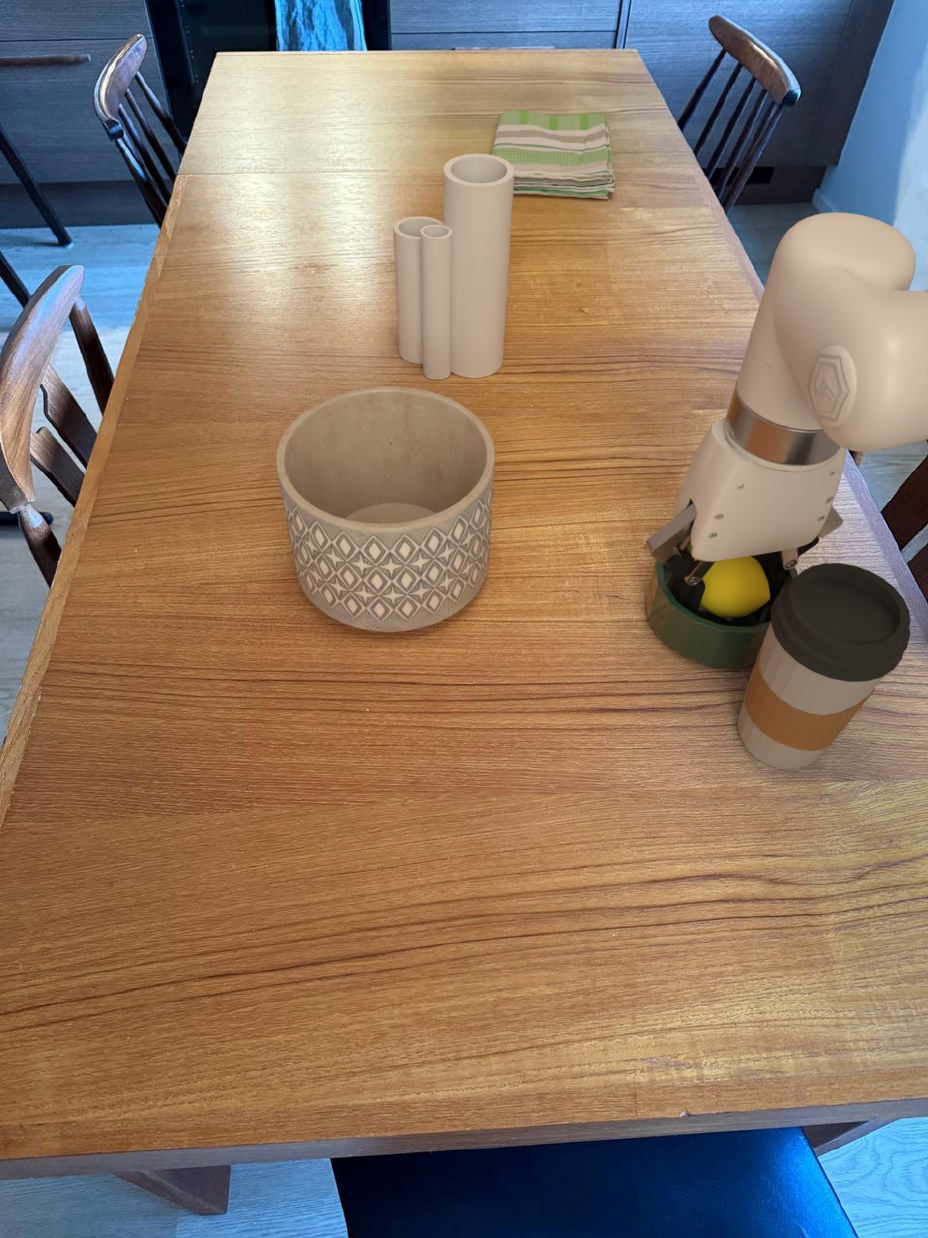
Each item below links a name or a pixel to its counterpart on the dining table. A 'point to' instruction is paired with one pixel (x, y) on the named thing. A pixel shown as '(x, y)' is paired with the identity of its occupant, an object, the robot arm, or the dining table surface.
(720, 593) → the lemon
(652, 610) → the bowl
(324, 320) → the dining table surface
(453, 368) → the vase
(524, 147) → the dish towel
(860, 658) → the coffee cup
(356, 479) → the planter
